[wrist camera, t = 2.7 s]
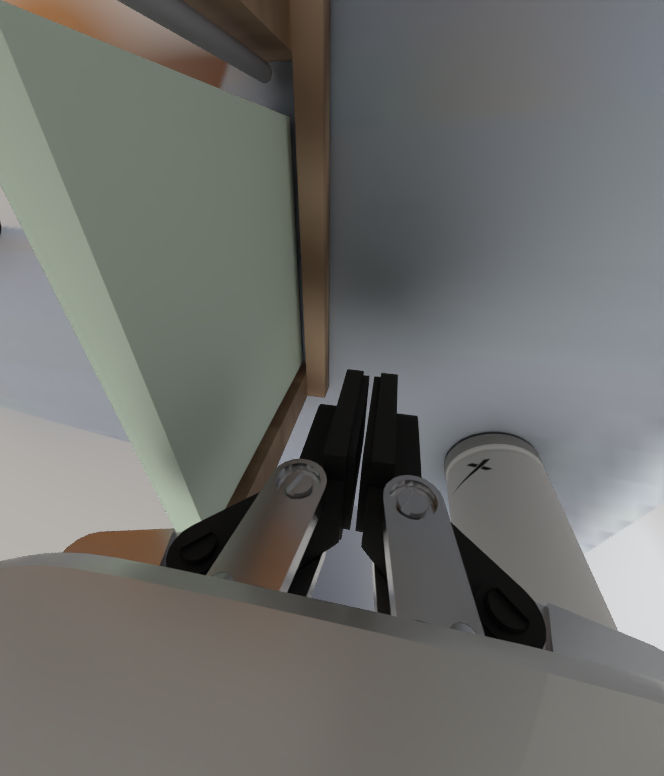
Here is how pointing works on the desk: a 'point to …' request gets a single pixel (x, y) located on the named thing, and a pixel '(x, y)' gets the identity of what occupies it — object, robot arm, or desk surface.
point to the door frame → (312, 109)
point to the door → (159, 238)
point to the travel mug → (521, 522)
